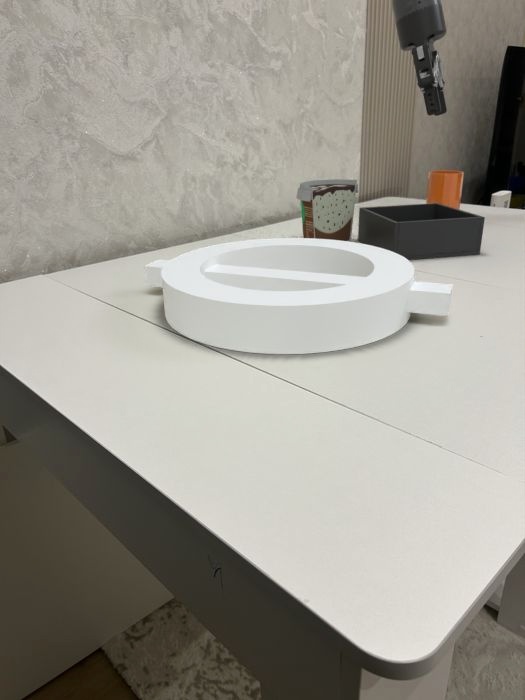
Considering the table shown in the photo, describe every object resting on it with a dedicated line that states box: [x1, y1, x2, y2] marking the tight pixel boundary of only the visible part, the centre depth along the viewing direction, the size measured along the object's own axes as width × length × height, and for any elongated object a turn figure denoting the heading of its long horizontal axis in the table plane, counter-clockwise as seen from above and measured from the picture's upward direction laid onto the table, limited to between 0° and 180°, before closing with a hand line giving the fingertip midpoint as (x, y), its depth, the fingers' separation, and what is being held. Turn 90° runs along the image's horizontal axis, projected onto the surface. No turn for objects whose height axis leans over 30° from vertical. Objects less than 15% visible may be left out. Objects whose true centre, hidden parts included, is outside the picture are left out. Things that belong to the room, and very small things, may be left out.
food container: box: [295, 178, 359, 242], centre depth 90 cm, size 12×6×10 cm, turn 134°
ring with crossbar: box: [143, 237, 454, 355], centre depth 63 cm, size 28×28×5 cm
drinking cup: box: [425, 169, 465, 210], centre depth 108 cm, size 6×6×9 cm
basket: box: [357, 203, 486, 261], centre depth 87 cm, size 14×14×6 cm
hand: (437, 114), depth 94 cm, fingers open, 8 cm apart
